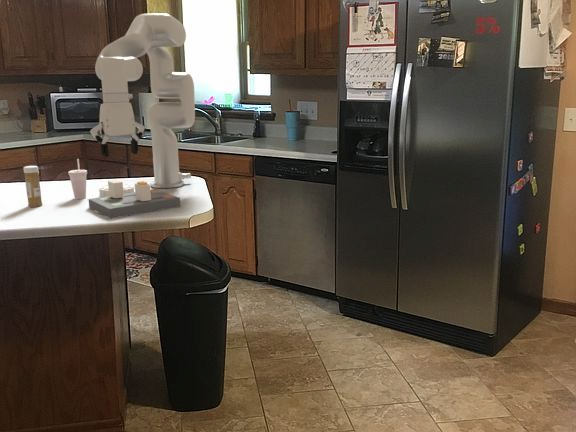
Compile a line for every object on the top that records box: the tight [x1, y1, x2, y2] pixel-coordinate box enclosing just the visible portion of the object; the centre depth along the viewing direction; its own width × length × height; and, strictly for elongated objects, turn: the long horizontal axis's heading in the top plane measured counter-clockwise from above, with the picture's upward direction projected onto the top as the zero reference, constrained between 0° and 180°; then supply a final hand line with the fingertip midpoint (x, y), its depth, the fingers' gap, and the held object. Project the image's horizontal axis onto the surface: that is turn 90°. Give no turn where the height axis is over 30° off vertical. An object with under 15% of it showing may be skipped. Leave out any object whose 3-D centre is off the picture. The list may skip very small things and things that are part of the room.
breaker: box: [107, 179, 124, 198], centre depth 205 cm, size 3×5×5 cm, turn 37°
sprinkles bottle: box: [22, 165, 43, 208], centre depth 207 cm, size 5×5×13 cm
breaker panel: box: [88, 188, 181, 219], centre depth 204 cm, size 24×18×3 cm
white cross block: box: [98, 183, 135, 197], centre depth 223 cm, size 12×12×4 cm
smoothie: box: [67, 158, 88, 200], centre depth 218 cm, size 6×6×14 cm
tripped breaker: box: [134, 180, 151, 201], centre depth 200 cm, size 3×5×6 cm, turn 37°
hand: (120, 154), depth 193 cm, fingers open, 9 cm apart
